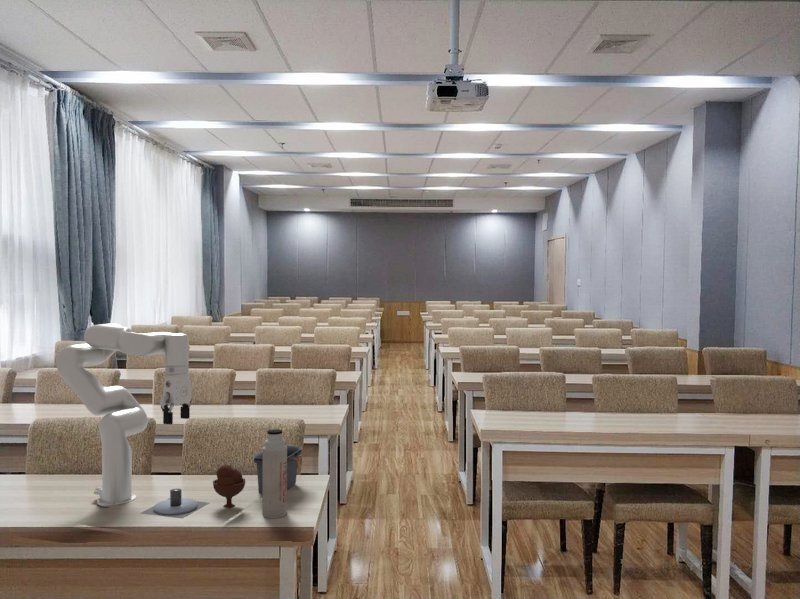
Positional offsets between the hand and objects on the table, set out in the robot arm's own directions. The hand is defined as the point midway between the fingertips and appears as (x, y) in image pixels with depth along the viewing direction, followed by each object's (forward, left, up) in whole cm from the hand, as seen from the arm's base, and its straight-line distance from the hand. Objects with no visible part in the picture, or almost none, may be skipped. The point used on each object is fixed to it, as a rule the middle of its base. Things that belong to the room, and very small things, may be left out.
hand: (176, 421), depth 225 cm
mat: (0, 0, -30) cm, 30 cm away
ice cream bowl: (+16, +7, -30) cm, 35 cm away
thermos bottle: (+33, +7, -30) cm, 45 cm away
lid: (0, 0, -29) cm, 29 cm away
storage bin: (+23, +32, -31) cm, 50 cm away
